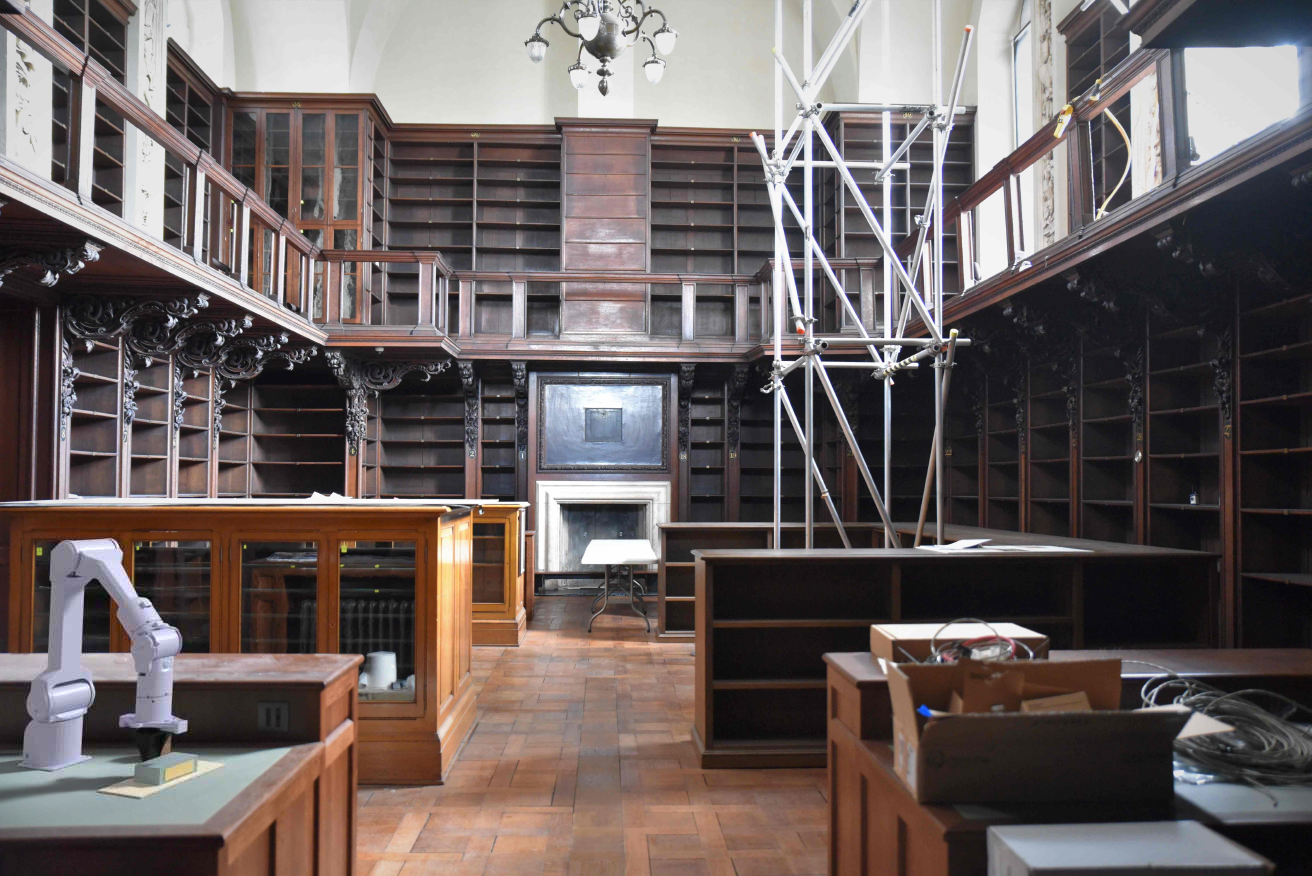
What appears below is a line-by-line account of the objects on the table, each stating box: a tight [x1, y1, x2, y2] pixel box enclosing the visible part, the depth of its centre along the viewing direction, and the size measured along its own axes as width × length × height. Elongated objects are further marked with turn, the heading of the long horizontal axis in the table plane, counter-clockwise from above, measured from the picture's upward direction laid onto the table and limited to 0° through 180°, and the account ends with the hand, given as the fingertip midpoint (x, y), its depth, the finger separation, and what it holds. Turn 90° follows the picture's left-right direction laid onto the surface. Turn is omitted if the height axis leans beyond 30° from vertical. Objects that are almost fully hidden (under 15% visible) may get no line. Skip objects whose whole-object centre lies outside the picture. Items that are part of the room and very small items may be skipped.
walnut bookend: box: [139, 734, 172, 759], centre depth 161 cm, size 5×2×6 cm, turn 72°
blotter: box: [97, 759, 227, 800], centre depth 149 cm, size 10×18×1 cm, turn 162°
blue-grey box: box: [133, 751, 199, 786], centre depth 149 cm, size 3×8×6 cm
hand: (150, 768), depth 150 cm, fingers closed
